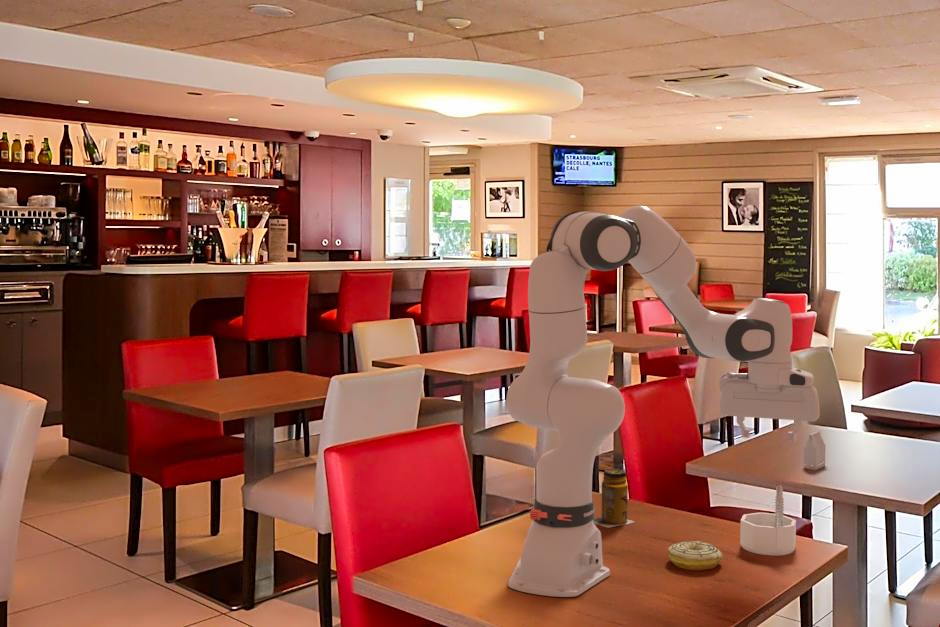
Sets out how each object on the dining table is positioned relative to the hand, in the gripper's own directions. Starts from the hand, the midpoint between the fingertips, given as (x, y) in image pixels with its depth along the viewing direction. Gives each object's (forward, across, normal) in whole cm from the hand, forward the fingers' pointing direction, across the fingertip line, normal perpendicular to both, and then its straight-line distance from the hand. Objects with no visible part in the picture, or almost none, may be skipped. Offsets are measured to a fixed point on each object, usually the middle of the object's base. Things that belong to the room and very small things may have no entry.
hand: (768, 439), depth 204 cm
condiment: (+24, -36, +5) cm, 43 cm away
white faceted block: (+24, +4, +81) cm, 85 cm away
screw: (+23, +2, -1) cm, 23 cm away
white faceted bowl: (+23, 0, -1) cm, 23 cm away
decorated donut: (+24, -12, -17) cm, 32 cm away
